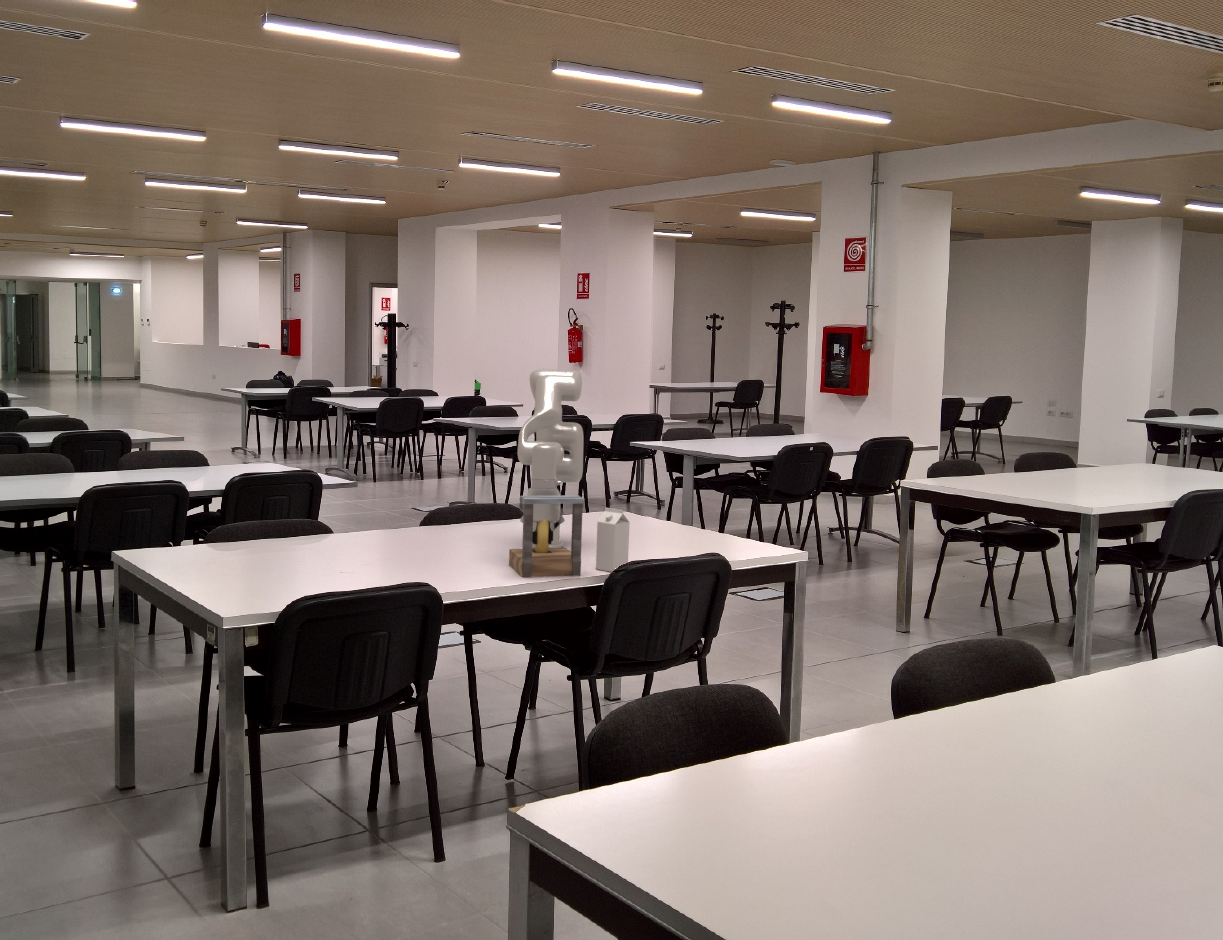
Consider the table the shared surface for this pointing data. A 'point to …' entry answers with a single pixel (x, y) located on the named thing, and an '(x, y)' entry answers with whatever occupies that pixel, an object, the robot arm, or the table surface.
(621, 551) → the milk carton
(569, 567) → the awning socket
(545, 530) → the peg
